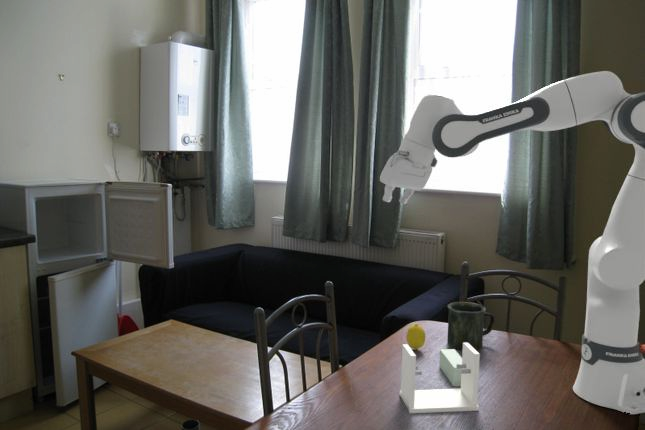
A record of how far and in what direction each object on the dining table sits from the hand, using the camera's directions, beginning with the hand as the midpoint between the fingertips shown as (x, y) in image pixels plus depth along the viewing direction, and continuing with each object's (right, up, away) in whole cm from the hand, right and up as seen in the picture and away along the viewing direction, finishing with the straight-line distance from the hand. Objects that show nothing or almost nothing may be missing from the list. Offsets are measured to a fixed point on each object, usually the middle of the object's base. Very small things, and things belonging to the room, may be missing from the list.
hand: (394, 202), depth 137 cm
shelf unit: (+8, -47, -17) cm, 51 cm away
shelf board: (+15, -46, -3) cm, 48 cm away
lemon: (+8, -44, +15) cm, 47 cm away
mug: (+26, -43, +20) cm, 54 cm away
